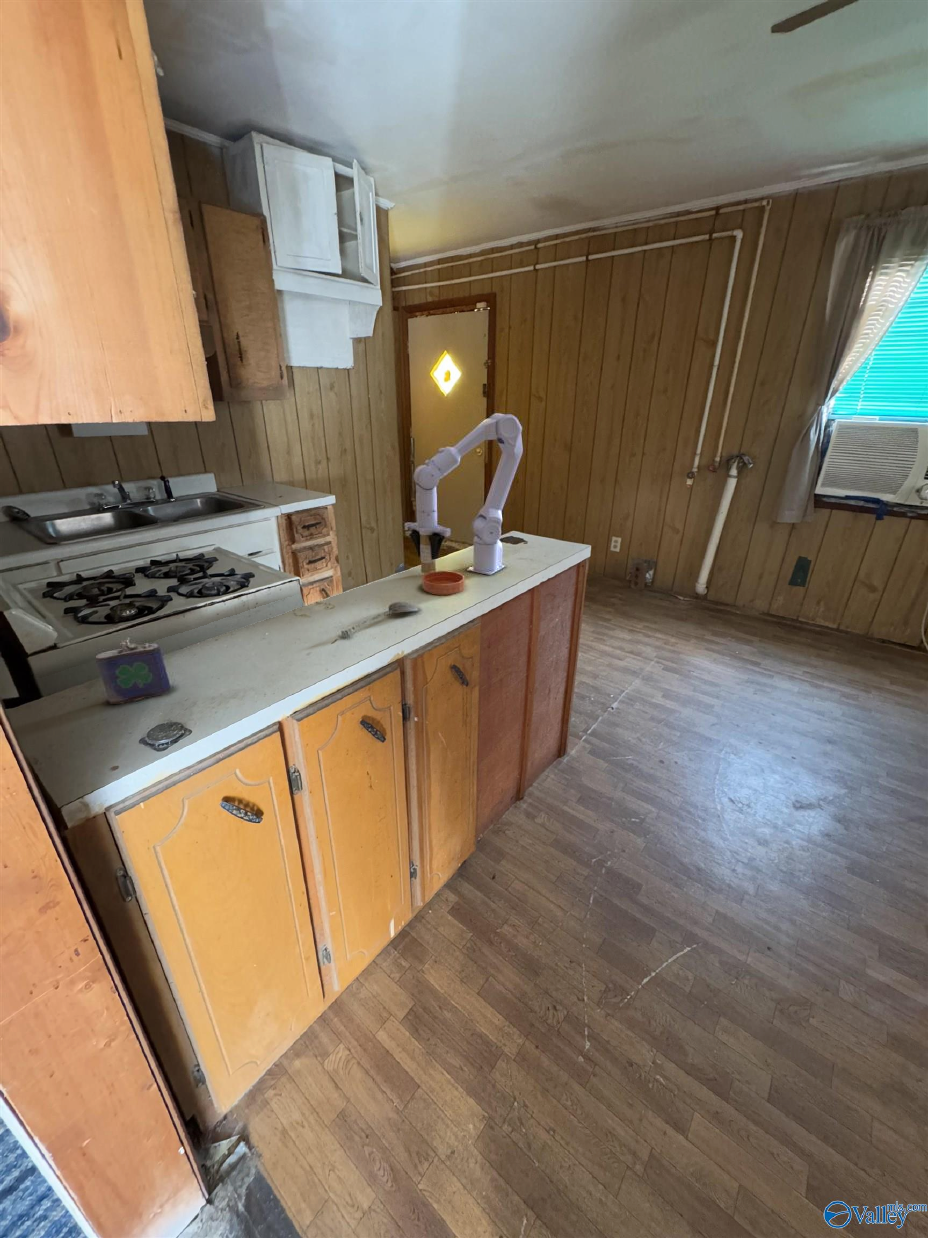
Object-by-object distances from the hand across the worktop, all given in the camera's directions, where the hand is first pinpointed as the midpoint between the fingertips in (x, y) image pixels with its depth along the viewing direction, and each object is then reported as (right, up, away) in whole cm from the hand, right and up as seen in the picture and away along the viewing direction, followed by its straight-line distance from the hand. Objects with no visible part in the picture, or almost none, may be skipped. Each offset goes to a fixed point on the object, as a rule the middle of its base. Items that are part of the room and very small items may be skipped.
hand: (427, 557), depth 145 cm
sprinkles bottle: (0, -4, +2) cm, 5 cm away
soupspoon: (-9, -19, -29) cm, 36 cm away
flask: (-46, -31, -58) cm, 80 cm away
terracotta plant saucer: (+5, -9, -8) cm, 13 cm away
